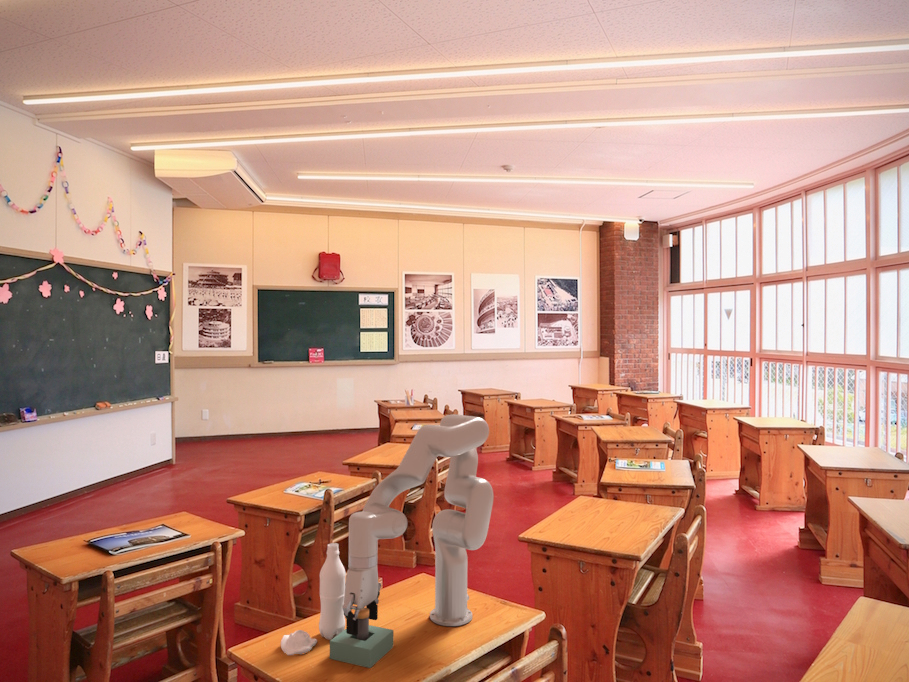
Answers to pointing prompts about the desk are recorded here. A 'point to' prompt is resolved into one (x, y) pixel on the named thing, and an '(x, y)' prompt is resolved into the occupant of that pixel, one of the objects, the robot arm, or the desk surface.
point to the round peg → (363, 624)
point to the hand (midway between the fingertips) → (362, 626)
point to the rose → (297, 643)
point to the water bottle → (332, 594)
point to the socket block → (362, 647)
